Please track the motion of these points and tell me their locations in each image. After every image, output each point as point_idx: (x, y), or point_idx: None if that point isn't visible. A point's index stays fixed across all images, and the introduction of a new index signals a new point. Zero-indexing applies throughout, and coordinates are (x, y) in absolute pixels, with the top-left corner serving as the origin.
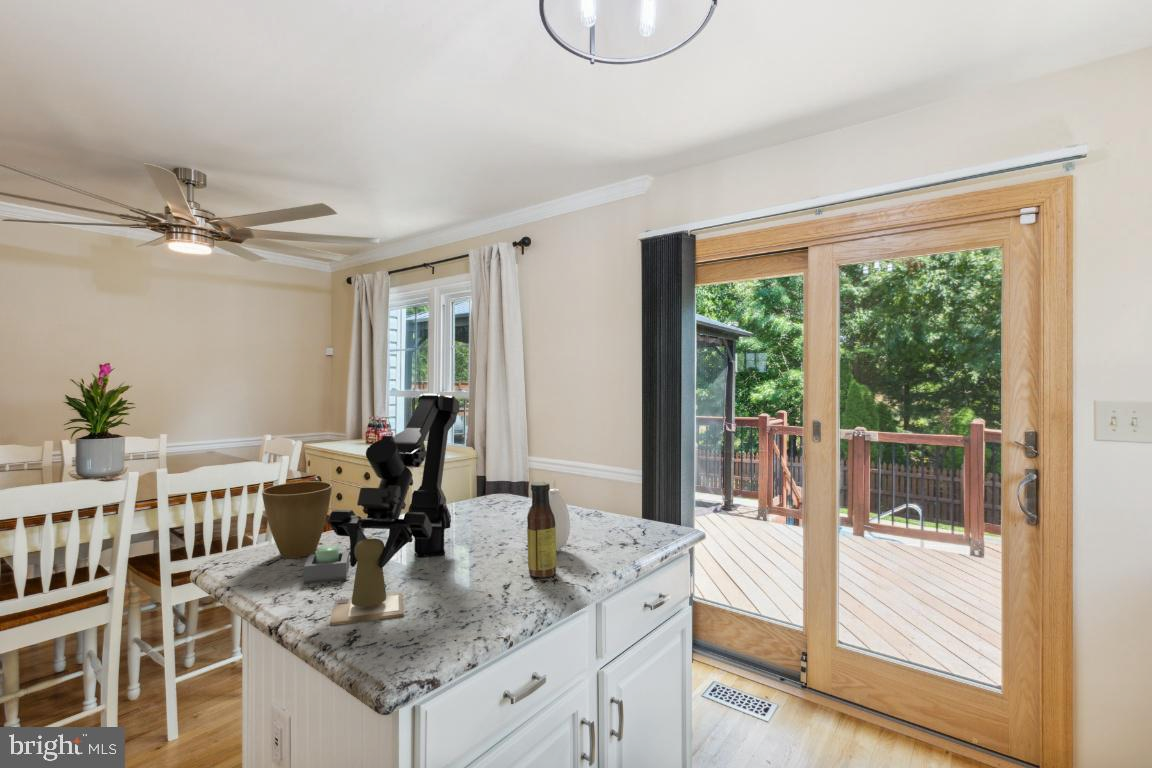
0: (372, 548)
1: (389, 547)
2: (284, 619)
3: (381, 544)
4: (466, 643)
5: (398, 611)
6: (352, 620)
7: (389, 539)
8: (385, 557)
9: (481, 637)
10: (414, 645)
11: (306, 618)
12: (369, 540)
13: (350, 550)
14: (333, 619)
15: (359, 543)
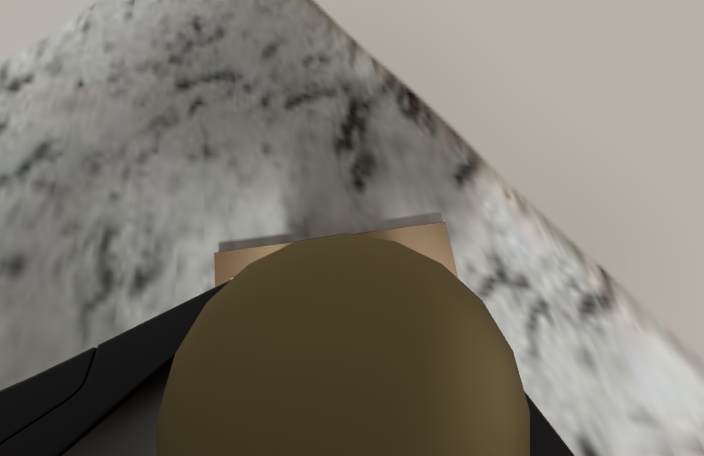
0: (287, 249)
1: (101, 347)
2: (607, 296)
3: (177, 358)
4: (56, 64)
5: (232, 273)
6: (378, 231)
7: (8, 448)
8: (195, 301)
9: (8, 86)
10: (188, 76)
11: (537, 293)
12: (346, 419)
13: (559, 438)
14: (441, 244)
15: (477, 345)
